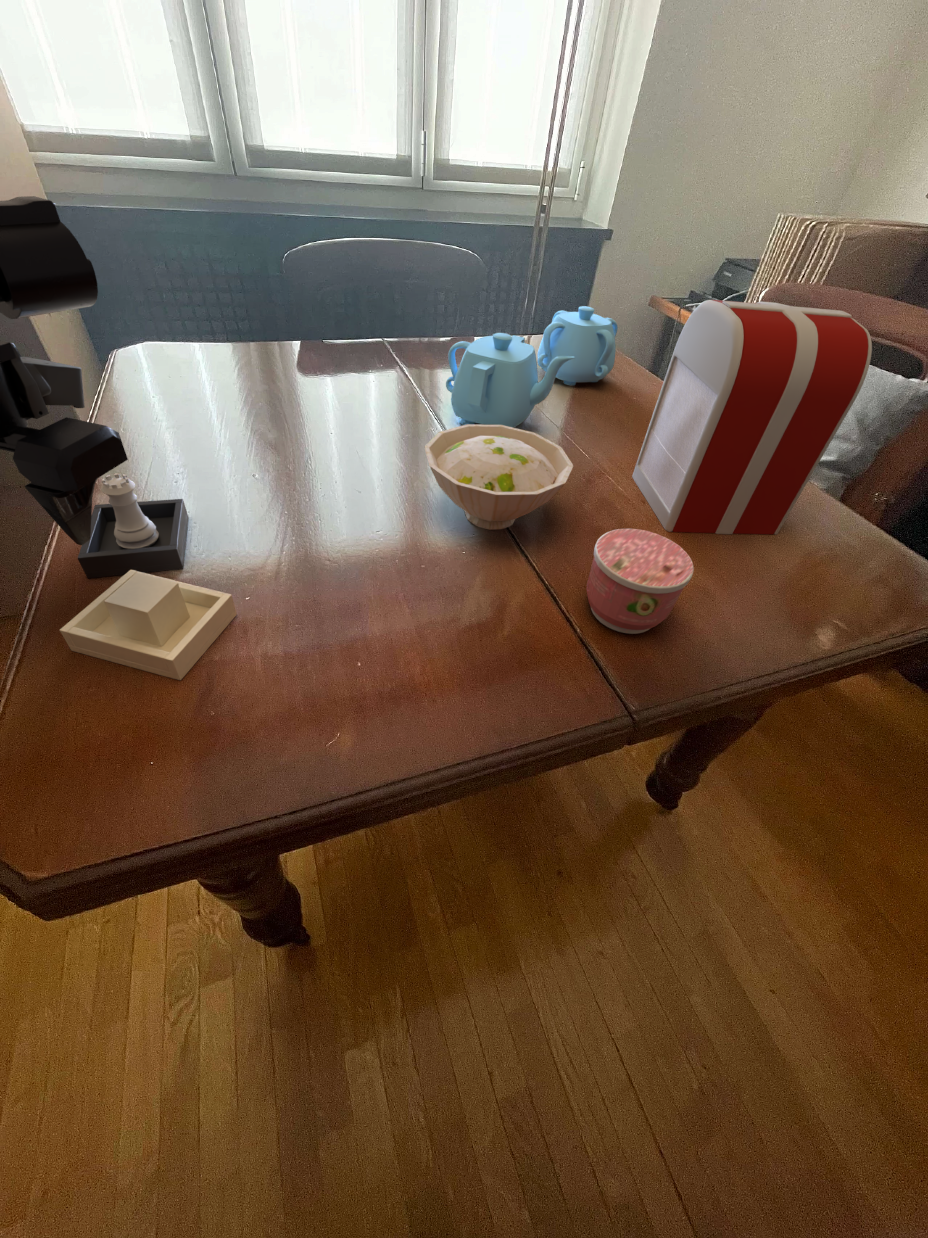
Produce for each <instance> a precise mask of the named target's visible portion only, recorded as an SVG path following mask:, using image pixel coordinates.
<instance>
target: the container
mask: <svg viewBox="0 0 928 1238" xmlns="http://www.w3.org/2000/svg"><path fill="white" fill-rule="evenodd" d="M694 569H695V568H694V563H693V560H692V558H691V557H690V555H689V554H688V553H687V551H685V550H684V548H683V547H681V546H680V545H679V544H677V543H676V542H675V541H672V540H671V539H669V538H667V537H666V536H663V535H660V534H659V533H655V532H652V531H650V530H644V529H639V528H618V529H613V530H610V531H607V532H605V533H603V534H602V535H600V537H598V539H597V541H596V543H595V545H594V549H593V559H592V563H591V566H590V570H589V571H590V572H589V575H588V579H587V582H586V587H585V589H586V594H587V600H588V604H589V606H590V611H591V613H592V615H593V616H594V617H595V618H596V620H598V622H599V623H601V624H602V625H604V626H605V627H607V628H609V629H611V630H613V631H616V632H619V633H623V634H629V635H630V634H631V635H633V634H635V635H637V634H642V633H645V632H647V631H649V630H650V629H653V628H654V627H656V626H658V625H659V624H660V623H662V622H663V621H664V620H666V619H667V618H668V617H669V615H670V614H671V613H672V610H673V608H674V607H675V605H676V603H677V602H678V599H679V598H680V596H681V594H682V593H683V590H684V588H685V587H686V586H687V585H688V584H689V583H690V581H691V579H692V577H693V574H694Z"/></svg>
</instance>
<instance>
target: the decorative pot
mask: <svg viewBox="0 0 928 1238" xmlns="http://www.w3.org/2000/svg"><path fill="white" fill-rule="evenodd" d="M551 319H552V320H551V323H550V324H548V325H547V326H546V328H544V331H543V335H542V339H541V341H540V344H539V347H538V350H537V359H536V361H537V366H538V367H540V368H541V369H542V370H543V371H544V372H545V373H546V371H547V368H548V366H549V364H550V362H551V361H552V360H553V359H554V358H555V357H558V356H574V358H573V359H571V360H568V361H567V362H565V363H564V364H563V365H562V366H561V367H560V368H559V370H558V372H557V374H556V377H555V379H558V380H561V381H563V384H564V385H567V386H576V384H577V383H598V382H599V381H600V380H602V379H604V378H606V377H607V376H608V374H610V372H611V371H612V370H613V368H614V366H615V361H616V350H617V349H616V346H617V345H616V337H617V333H618V328H619V327H618V323H617V321H616V320H614V318H611V317H603V316H601V315H599V314H597V313H595V308H593V307H592V306H586V305H581V306H579V307H578V311H567V310H558V311H556V312H555V313H554V315H553V316H552V318H551Z"/></svg>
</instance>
